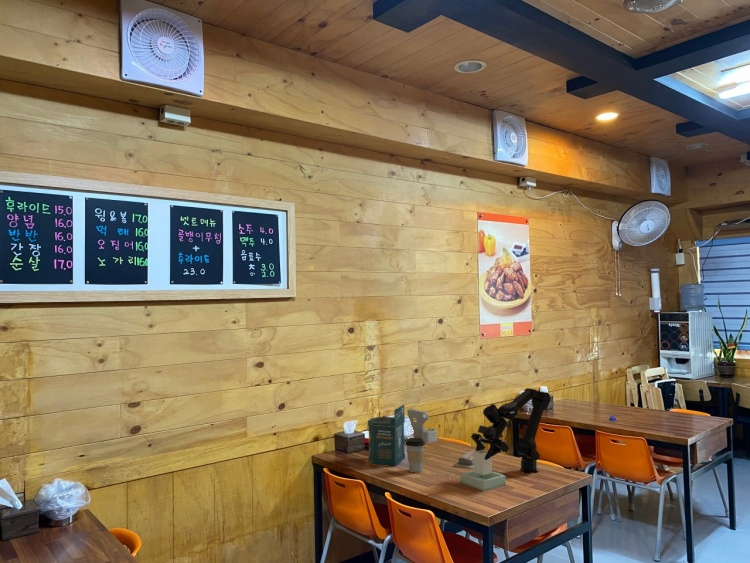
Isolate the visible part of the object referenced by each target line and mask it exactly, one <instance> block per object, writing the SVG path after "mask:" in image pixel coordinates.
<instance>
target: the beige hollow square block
mask: <svg viewBox="0 0 750 563" xmlns="http://www.w3.org/2000/svg"><path fill="white" fill-rule="evenodd" d="M474 451H475V452H473V453H474V468H473V471H474V472H475V473H478V474H481V475H485V474H489V473H492V472H493V466H492V465H493V464H492V463H493V462H492V460H493V459H492V457H493V456H492V457H490V458H489V459H487V460H485V456H486V454H487V452H488V450H485V449H484V450H479V451H476V450H474Z"/></svg>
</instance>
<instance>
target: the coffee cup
mask: <svg viewBox="0 0 750 563" xmlns="http://www.w3.org/2000/svg"><path fill="white" fill-rule="evenodd" d="M404 445H406V454H407V456H406V457H407V462H408V467H409V468H408V469H409V470H408V471H409V472H410V473H412V472H415V473H414V474H419V473H421V472H422V471H423V465H424V464H423V462H424V453H425V449H424V448H425V445H426V443H425V442H424V441H423V439H421V438H409V439H407V438H406V441H405V442H404ZM418 472H419V473H418Z"/></svg>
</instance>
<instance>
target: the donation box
mask: <svg viewBox="0 0 750 563" xmlns="http://www.w3.org/2000/svg"><path fill="white" fill-rule="evenodd" d="M393 412H394V413H393V414H394V417H393V416H379V417H377V416H376V417H372V418H370V419H369V420H367V426H368V461H367V462H368V463H369V464H372V465H373V464H375V466H382V465H388V466H387V467H393V466H396V467H397V466H398V465H399V464H400V463H402V462H403V461H404V460H405V459H406V453H405V420H406V419H405V404H402V405H401V406H399V407H397V408H395V409H394V411H393ZM402 460H403V461H402ZM401 461H402V462H401Z"/></svg>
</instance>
